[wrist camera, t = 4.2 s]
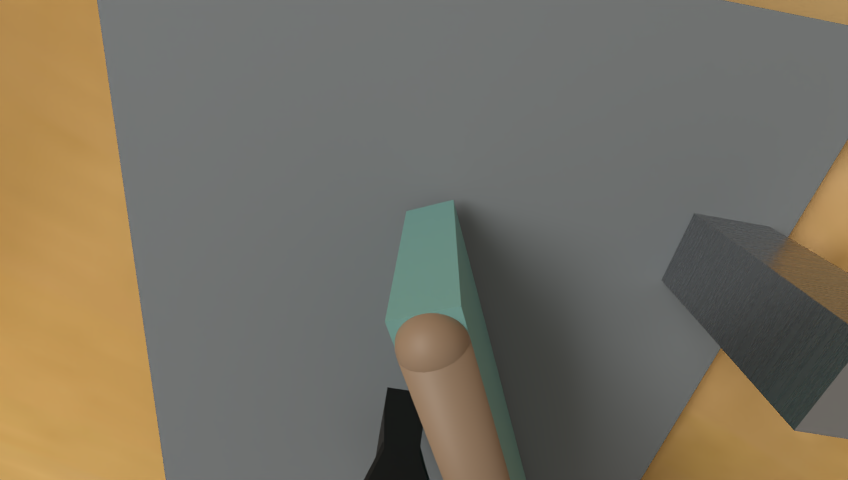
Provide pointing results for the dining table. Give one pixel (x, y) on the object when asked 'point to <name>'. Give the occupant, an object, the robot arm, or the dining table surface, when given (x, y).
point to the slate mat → (439, 182)
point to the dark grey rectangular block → (770, 315)
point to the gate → (449, 350)
